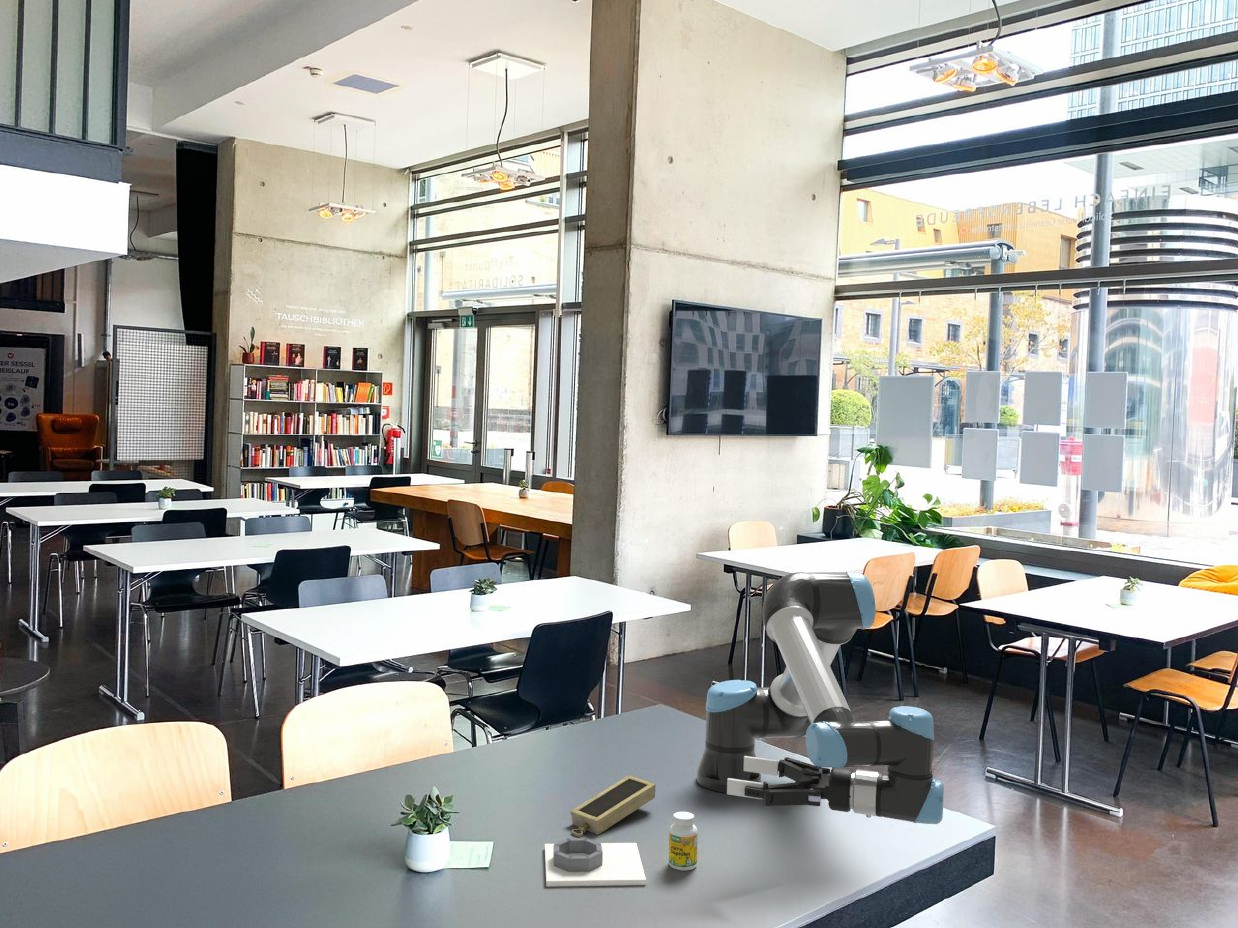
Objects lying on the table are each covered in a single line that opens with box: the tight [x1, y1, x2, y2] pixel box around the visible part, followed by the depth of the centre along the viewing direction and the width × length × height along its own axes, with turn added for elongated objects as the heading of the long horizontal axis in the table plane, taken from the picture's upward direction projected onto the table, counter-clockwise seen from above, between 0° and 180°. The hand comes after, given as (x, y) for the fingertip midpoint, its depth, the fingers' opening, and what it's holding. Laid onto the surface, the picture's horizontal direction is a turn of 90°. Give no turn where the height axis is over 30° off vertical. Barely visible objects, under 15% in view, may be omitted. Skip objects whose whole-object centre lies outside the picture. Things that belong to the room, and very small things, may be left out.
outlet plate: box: [544, 837, 647, 888], centre depth 185 cm, size 18×16×4 cm
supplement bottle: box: [668, 811, 699, 872], centre depth 187 cm, size 5×5×10 cm
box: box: [569, 775, 657, 838], centre depth 208 cm, size 8×22×5 cm, turn 139°
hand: (735, 774), depth 183 cm, fingers open, 13 cm apart
